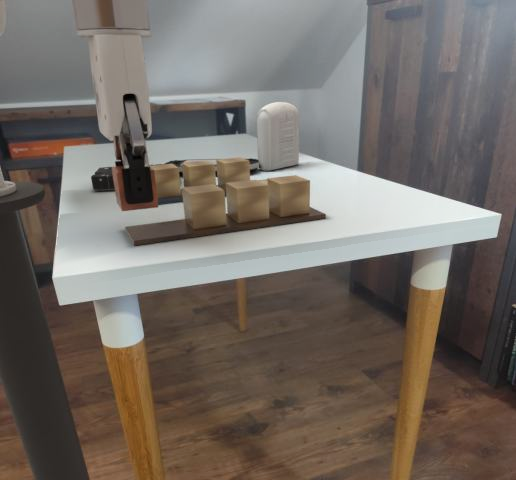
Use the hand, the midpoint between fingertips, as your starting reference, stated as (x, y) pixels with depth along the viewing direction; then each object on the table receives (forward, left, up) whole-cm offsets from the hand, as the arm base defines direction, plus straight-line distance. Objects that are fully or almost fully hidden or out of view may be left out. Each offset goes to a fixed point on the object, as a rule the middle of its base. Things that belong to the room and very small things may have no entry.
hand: (136, 196), depth 60 cm
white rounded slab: (+35, +36, -5) cm, 51 cm away
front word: (+11, -1, -5) cm, 12 cm away
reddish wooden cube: (0, 0, -1) cm, 1 cm away
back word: (+16, +19, -5) cm, 26 cm away
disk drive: (+5, +34, -5) cm, 35 cm away
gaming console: (+21, +38, -5) cm, 44 cm away
